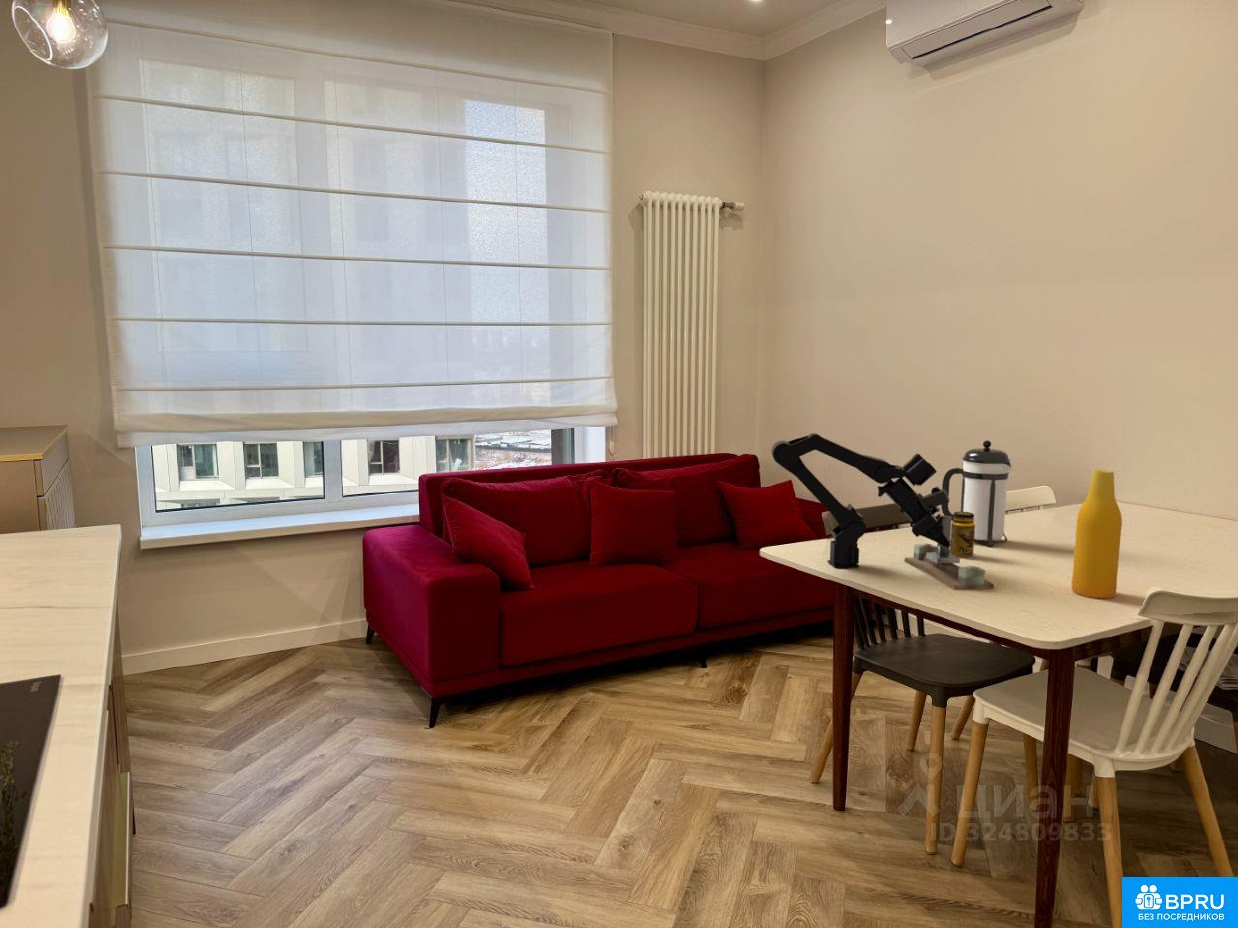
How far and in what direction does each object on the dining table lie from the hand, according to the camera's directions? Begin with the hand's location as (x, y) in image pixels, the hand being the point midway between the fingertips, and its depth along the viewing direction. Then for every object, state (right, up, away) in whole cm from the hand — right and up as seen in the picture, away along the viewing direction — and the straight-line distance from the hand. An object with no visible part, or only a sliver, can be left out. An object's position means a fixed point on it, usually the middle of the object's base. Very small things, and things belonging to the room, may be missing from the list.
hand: (949, 544), depth 223 cm
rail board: (-1, -7, -1) cm, 7 cm away
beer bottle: (+27, -10, -17) cm, 34 cm away
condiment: (+10, -5, +19) cm, 22 cm away
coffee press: (+22, -3, +37) cm, 43 cm away
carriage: (-1, -4, +1) cm, 5 cm away
